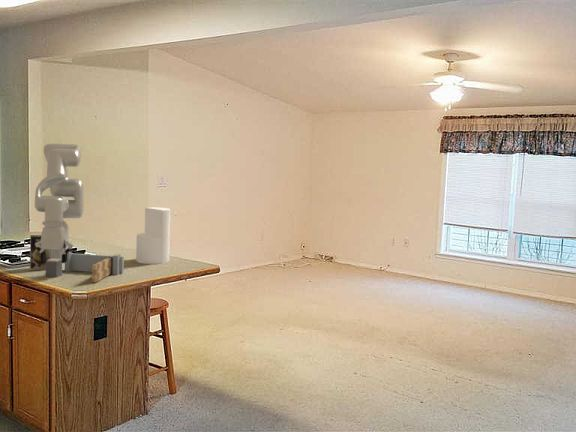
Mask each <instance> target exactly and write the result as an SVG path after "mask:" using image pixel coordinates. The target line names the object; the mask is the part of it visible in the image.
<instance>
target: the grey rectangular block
mask: <svg viewBox="0 0 576 432" xmlns="http://www.w3.org/2000/svg"><path fill="white" fill-rule="evenodd" d="M61 276H63V263H62V260H61V259H53V258H52V259H49V260H47V261H46V270H45V278H59V277H61Z"/></svg>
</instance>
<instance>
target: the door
mask: <svg viewBox="0 0 576 432" xmlns="http://www.w3.org/2000/svg"><path fill="white" fill-rule="evenodd" d="M108 256H109V258H106V259H104V260H102V261H100V262H98V263H96V264H94V265H92V272H91V273H92V274H91V275H92V276H91V278H92V279H91V282H92V283H97V282H99V281H101V280H102V279H104V278H106V277H108V276H109V275H113V255H108Z"/></svg>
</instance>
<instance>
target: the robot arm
mask: <svg viewBox="0 0 576 432" xmlns="http://www.w3.org/2000/svg"><path fill="white" fill-rule="evenodd" d="M43 155H44V159H45V160H46V162H47V163H46V169H47V170H46V176H45V177H44V178H43V179H41V181H40V182H39V183H37V187H36V189H35V193H34V194H35V195H34V208H35V210H36V211H37V212H40V213H44V221H42V223H41V224H42V226H43V225H44V227H42V230H41V234H40V235H41V241H39V242H36V243H35V245H36V247H37V250H38V251H39V253H41V262H45V261H46V252H45V251H46V250H51V259H52V258H53V259H61V260H62V264H65V263H66V261H67V254H68V252H72V251H71V250H72V248H73V247H74V245H73V244H72V243H71V242H69V225H68V223H67V222H66V221H65V220H64V219H80V218H82V217H83V216H84V184H83V181H82V180H81V179H78V178H69V176H68V175H69V172H68V171H69V170H68V167H74V168H75V167H79V165H80V163H81V158H82V148H81V147H80V145H78V144H69V143H68V144H67V143H47V144H44V146H43ZM47 189H49V192H50V194H51V195H42V194H43V192H44V191H46V190H47ZM68 198H72V199H68ZM40 244H41V247H40Z"/></svg>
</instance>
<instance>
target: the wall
mask: <svg viewBox="0 0 576 432" xmlns="http://www.w3.org/2000/svg"><path fill="white" fill-rule="evenodd" d="M109 256H110V255H103V254H91V253H90V254H88V253H87V254H86V253H73V251H69V252H68V254H67V261H66V263H64V272H65V273H66V272H68V273H69V272H71V271H74V272H77V271H78V272H87V273H88V272H91V273H92V265H94V264H96V263H98V262H100V261H102V260H104V259H106V258H109ZM112 256H113V273H112V275H113V276H118V275H120V274H121V275H122V274H124V272H125V271H124V270H125V269H124V268H125V264H124V263H125V261H124V260H125V259H124V258H125V257H124V256H121V254H114V255H112Z"/></svg>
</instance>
